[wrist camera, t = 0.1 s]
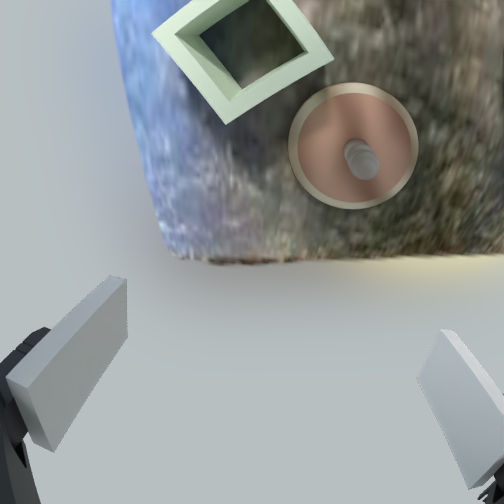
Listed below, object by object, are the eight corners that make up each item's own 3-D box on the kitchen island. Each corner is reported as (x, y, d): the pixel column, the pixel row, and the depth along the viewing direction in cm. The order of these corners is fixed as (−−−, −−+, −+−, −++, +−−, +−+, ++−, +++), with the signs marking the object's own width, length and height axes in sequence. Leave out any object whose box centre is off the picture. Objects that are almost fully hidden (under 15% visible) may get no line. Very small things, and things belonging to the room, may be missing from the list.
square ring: (263, -23, 23) (256, -42, 17) (324, 56, 28) (334, 59, 22) (179, 34, 28) (151, 33, 22) (239, 107, 33) (225, 125, 27)
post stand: (378, 59, 28) (399, 64, 22) (431, 170, 34) (455, 199, 28) (262, 123, 34) (255, 143, 28) (328, 222, 40) (334, 258, 34)
